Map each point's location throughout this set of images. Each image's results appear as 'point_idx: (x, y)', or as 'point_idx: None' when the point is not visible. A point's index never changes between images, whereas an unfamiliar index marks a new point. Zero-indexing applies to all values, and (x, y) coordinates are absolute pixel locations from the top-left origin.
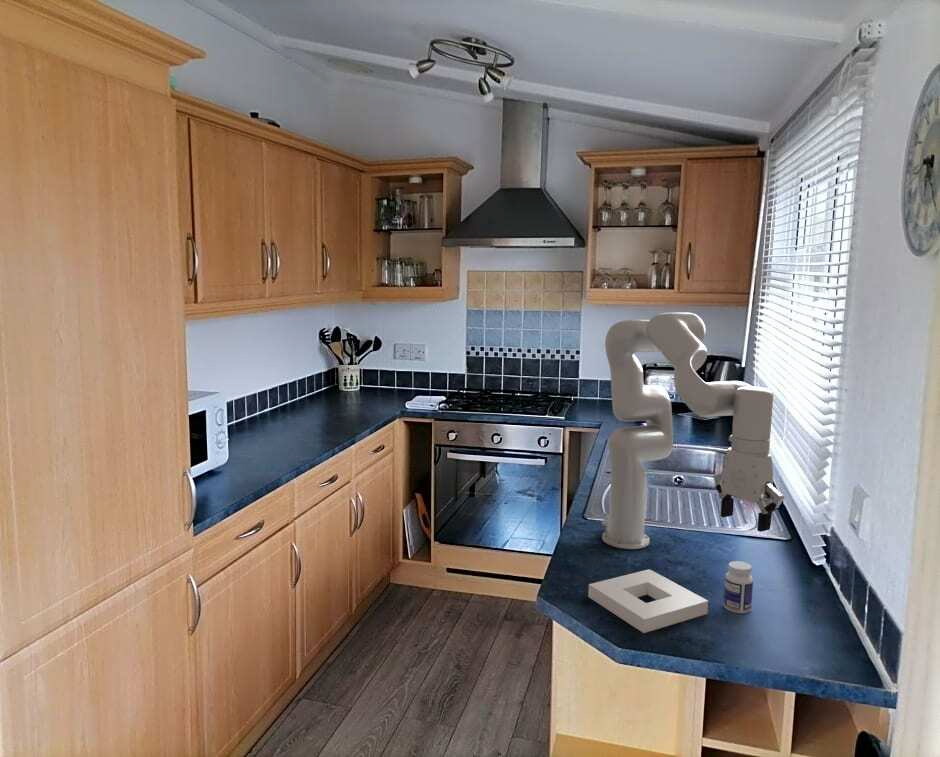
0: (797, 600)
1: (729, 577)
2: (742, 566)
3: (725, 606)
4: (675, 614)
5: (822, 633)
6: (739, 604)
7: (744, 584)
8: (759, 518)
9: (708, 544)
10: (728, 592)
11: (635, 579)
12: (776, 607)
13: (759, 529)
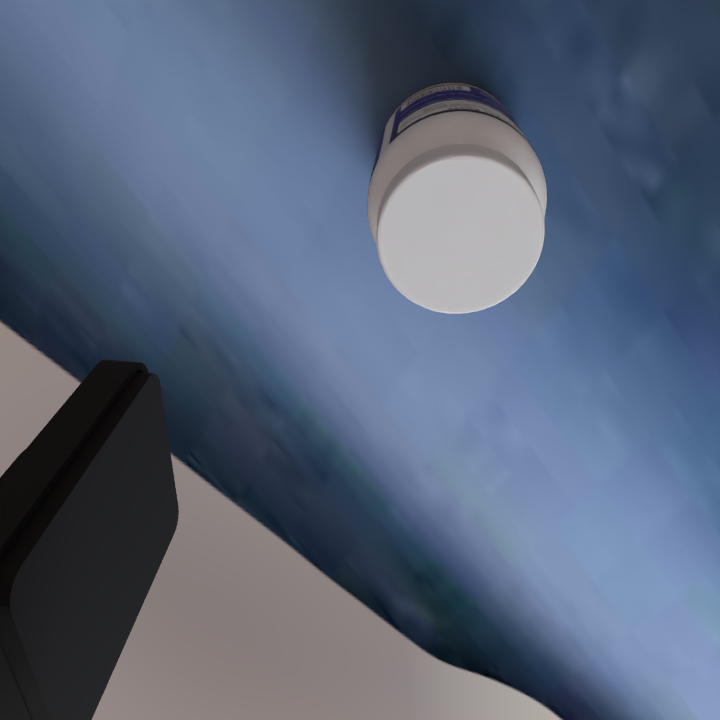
0: (348, 440)
1: (479, 124)
2: (433, 234)
3: (478, 88)
4: None
5: (106, 280)
6: (398, 113)
7: (379, 160)
8: (19, 496)
9: None
10: (467, 96)
11: None
12: (351, 322)
13: (96, 369)
